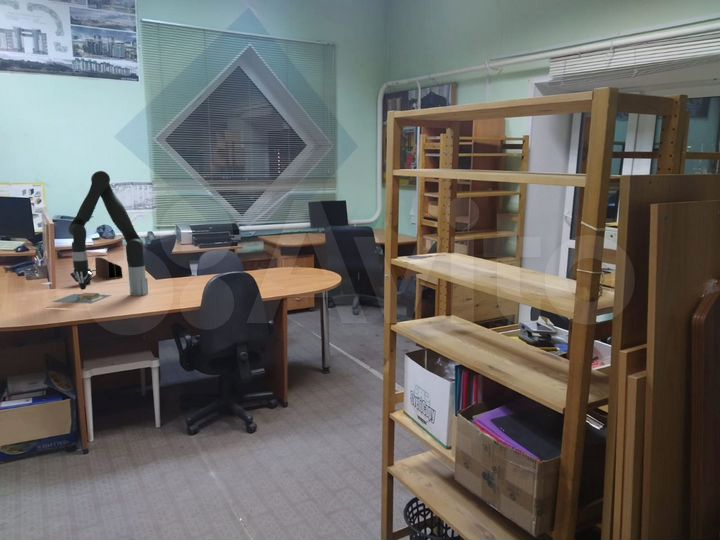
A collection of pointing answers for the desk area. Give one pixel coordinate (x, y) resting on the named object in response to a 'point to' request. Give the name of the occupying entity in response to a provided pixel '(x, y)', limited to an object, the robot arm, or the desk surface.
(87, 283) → the coffee mug
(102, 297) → the rubber mat
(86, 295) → the birch tile
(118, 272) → the letter holder
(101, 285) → the desk surface
